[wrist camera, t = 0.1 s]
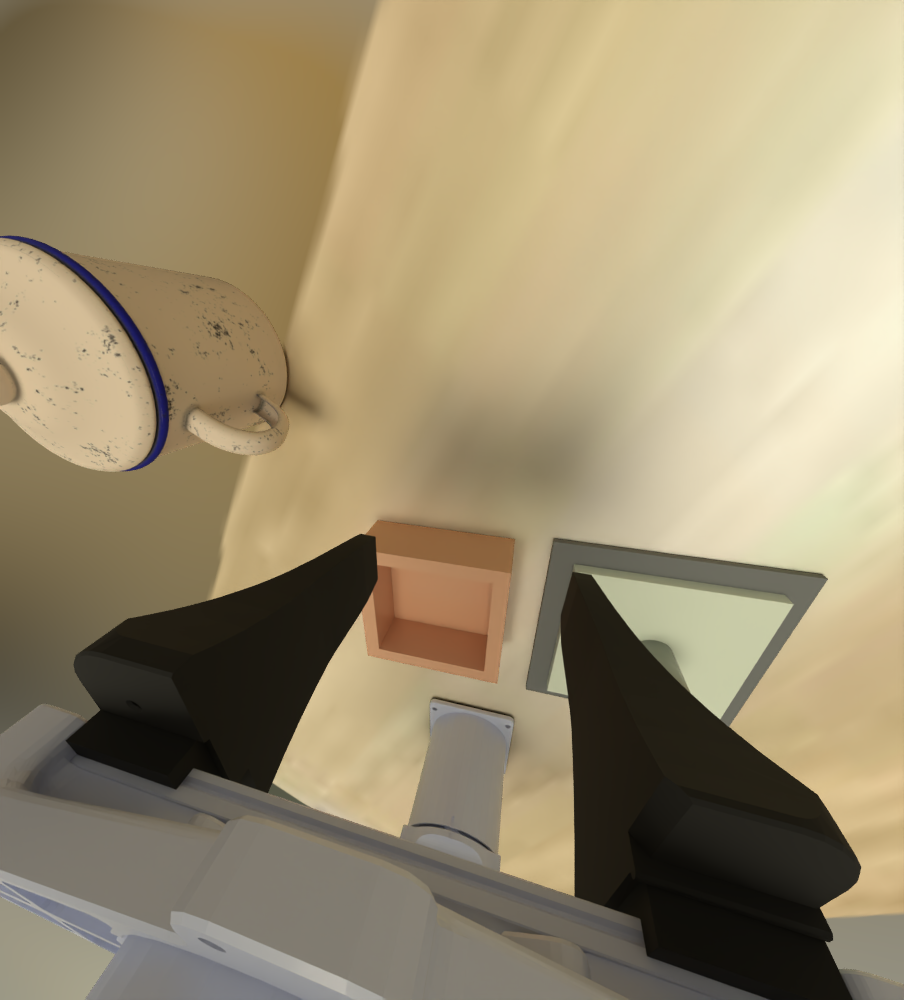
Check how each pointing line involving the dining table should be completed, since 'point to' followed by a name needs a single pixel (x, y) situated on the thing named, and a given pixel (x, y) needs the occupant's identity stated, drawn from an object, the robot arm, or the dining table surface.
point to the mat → (779, 581)
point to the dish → (439, 599)
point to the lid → (690, 630)
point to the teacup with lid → (133, 359)
